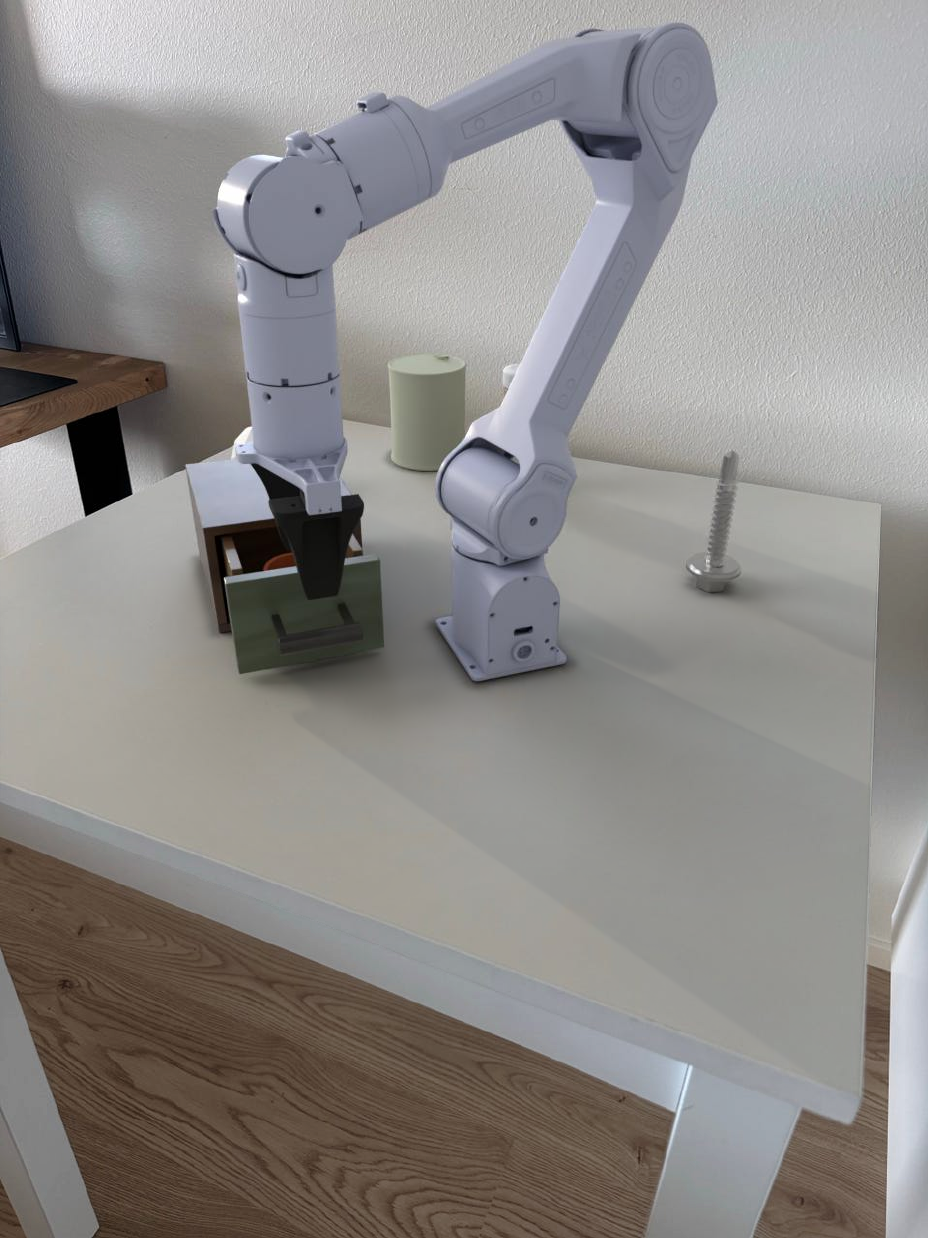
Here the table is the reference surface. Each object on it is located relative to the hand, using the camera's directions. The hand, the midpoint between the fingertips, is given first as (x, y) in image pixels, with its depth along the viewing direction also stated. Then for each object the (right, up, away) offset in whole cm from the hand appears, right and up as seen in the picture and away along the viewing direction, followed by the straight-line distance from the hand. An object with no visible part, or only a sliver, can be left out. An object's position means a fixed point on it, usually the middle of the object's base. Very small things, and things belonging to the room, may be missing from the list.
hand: (310, 570), depth 63 cm
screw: (+33, -1, +20) cm, 39 cm away
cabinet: (-6, 0, +20) cm, 21 cm away
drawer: (-2, -5, +11) cm, 12 cm away
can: (+6, +16, +48) cm, 51 cm away
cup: (-2, -4, +10) cm, 11 cm away
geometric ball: (-11, +11, +39) cm, 42 cm away
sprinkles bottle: (+17, +12, +41) cm, 46 cm away
